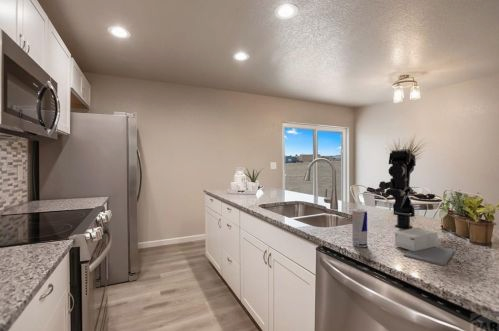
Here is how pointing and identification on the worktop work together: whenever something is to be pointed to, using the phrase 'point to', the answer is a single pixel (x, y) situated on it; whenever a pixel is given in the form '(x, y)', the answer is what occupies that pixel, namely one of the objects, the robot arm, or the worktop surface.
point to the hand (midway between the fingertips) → (399, 208)
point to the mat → (431, 255)
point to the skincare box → (416, 239)
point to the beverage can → (359, 227)
